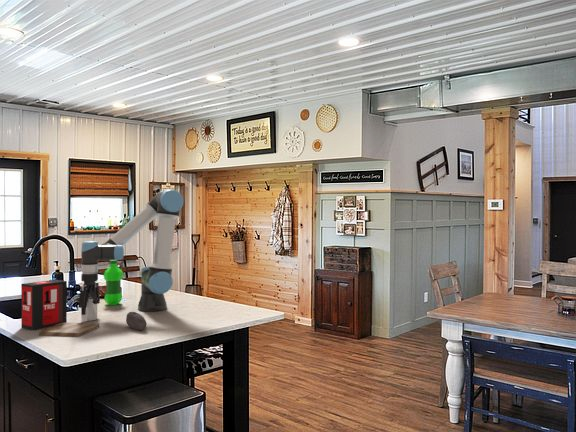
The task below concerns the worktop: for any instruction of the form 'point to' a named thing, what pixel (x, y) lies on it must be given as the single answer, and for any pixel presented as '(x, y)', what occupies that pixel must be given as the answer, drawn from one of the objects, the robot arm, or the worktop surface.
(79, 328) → the walnut board
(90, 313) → the flask
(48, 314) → the cleaning product box
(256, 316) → the worktop surface
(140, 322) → the perforated stone tool
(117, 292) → the plastic bottle
